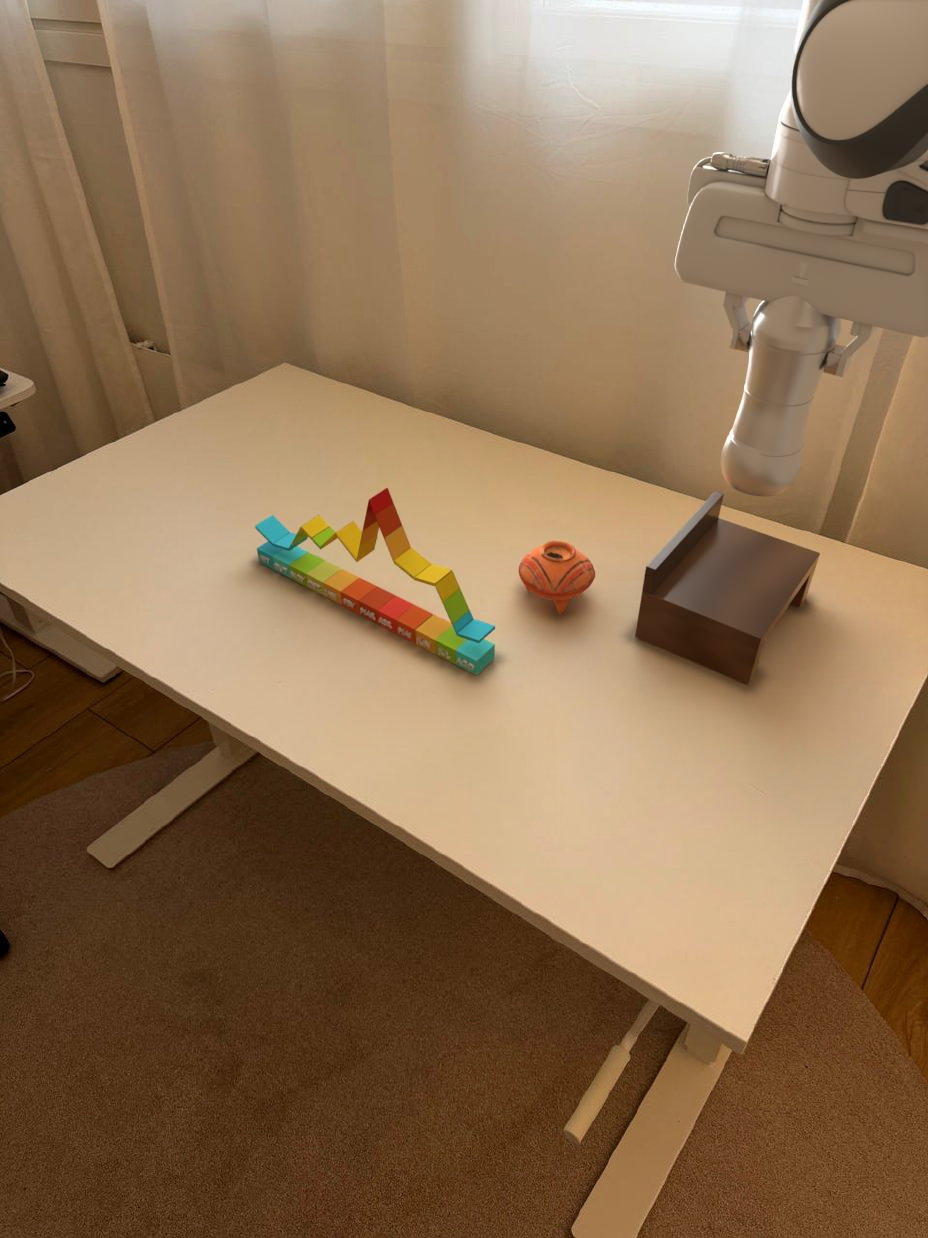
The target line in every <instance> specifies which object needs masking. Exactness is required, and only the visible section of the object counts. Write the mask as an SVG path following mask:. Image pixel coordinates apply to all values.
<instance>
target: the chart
mask: <svg viewBox="0 0 928 1238" xmlns="http://www.w3.org/2000/svg"><path fill="white" fill-rule="evenodd" d="M254 528H255V529H256V531H257V532H258V533H259V534H260V535H262V536H263V538H264V539H265V540H266V542H264V543H262V544H261V545H259V546H258V547H256V552H257V558H258V562H259V563H260V564H262V565H264V566H266V567H268V568H270V569H272V570H274V571H275V572H277V573H280V574H282V575H283V576H285V577H287V578H289V579H291V580H293V581H295V582H296V583H299V584H300V585H302V586H304V587H306V588H308V589H310V590H312V591H314V592H316V593H318V594H319V595H321V596H323V597H326V598H327V599H329V600H331V601H333V602H335V603H337V604H339V605H341V606H342V607H344V608H346V609H349V610H350V611H352V612H354V613H355V614H357V615H359V616H362V617H364V618H365V619H368V621H371V622H373V623H374V624H377V625H378V626H381V627H383V628H384V629H387V630H388V631H390V632H392V633H394V634H396V635H398V636H400V637H402V638H403V639H406V640H408V641H409V642H411V643H413V644H415V645H417V646H419V647H421V648H423V649H424V650H426V651H428V652H431V653H432V654H435V655H436V656H438V657H440V658H441V659H444V660H446V661H448V662H450V663H452V664H453V665H456V666H458V667H460V668H462V669H463V670H466V671H468V672H469V673H472V674H473V675H475V676H478V675H479V674H480V673H481V672H483V670H484V669H485V668H486V667H487V666H488V665H489V664H491V662H493V661H494V660H495V653H496V650H495V649H496V644H495V643H493V642H491V641H488V640H486V639H485V638H487V637H488V636H489V635H490V634H491V633H492V632H493V631H494V630H496V625H495V624H491V623H488V622H485V621H482V620H479V619H476V618H474V616H473V614H472V611H471V610H470V607H469V606H468V603H467V601H466V598H465V596H464V593H463V592H462V589H461V587H460V584H459V582H458V580H457V577H456V575H455V572H454V571H453V569H451V568H448V567H444V566H441V565H437V564H434V563H431V562H430V561H429V560H428V559H426V558H425V557H424V556H423V555H421V553H419V552H418V551H417V550H415V549H414V548H412V546H411V544H410V541H409V538H408V536H407V533H406V531H405V528H404V526H403V524H402V521H401V518H400V516H399V513H398V510H397V508H396V506H395V502H394V501H393V498H392V495H391V493H390V490H389V488H388V487H386V488H384V489H383V490H381V491H379V492H378V493H377V494H375V495H374V496H372V497H370V498H369V499H368V502H367V506H366V510H365V517H364V522H363V525H362V530H361V529H360V527H359V526H358V525H357V524H356V522H355V521H354V520H353V521H351V522H349V523H347V524H346V525H345V526H343V527H342V528H341V529H339V530H337V531H335V530H334V529H333V528H332V527H331V526H330V525H329V523H328V522H326V520H324V518H323V517H321V515H319V514H318V515H317V516H315V517H313V518H312V519H310V520H309V521H307V522H306V523H304V524H302V525H300V527H299V529H298V531H297V532H296V533H294V532H291V531H290V530H288V528H286V527H285V525H283V524H282V523H281V522H280V521H279V519H277V518H276V516H274V514H272V515H270V516H269V517H267V518H265V519H263V520H261V521H260V522H258V523H257V524H255V525H254ZM379 530H380V532H381V535H382V537H383V540H384V542H385V545H386V547H387V550H388V552H389V554H390V555H389V556H390V557H391V560H392V562H393V564H394V566H396V567H397V568H398V569H400V570H401V571H403V572H404V573H405V574H406V575H407V576H409V577H410V578H411V579H412V580H414V581H415V582H418V583H422V584H426V585H428V586H431V587H435V590H436V592H437V594H438V596H439V599H440V601H441V604H442V605H443V607H444V611H445V612H446V614H447V617H448V619H449V620H446V619H444V618H443V617H440V616H438V615H436V614H433V613H432V612H430V611H429V610H426V609H424V608H422V607H420V606H419V605H416V604H414V603H412V602H410V601H409V600H406V599H404V598H402V597H400V596H398V595H396V594H394V593H392V592H390V591H387V590H386V589H383V588H382V587H380V586H377V585H376V584H374V583H372V582H370V581H368V580H367V579H364V578H362V577H360V576H357V575H355V574H353V573H351V572H349V571H348V570H345V569H344V568H341V567H339V566H337V565H335V564H333V563H332V562H329V561H327V560H326V559H324V558H322V557H319V556H317V555H315V554H313V553H311V552H310V551H307V550H305V549H303V548H301V547H299V545H301V544H302V543H304V542H306V541H307V540H308V538H309V539H310V540H311V541H312V542H313V543H314V544H315V546H316V547H317V548H318V549H319V550H322V549H324V548H325V547H327V546H328V545H330V544H331V543H332V542H334V541H336V540H339V541H340V543H341V545H342V546H343V547H344V548H345V549H346V551H347V552H348V553H349V554H350V557H352V558H353V560H354V561H355V562H356V563H359V562H360V561H361V560H363V559H364V558H365V557H367V556H368V555H369V554H371V553H372V552H373V551H375V548H376V544H377V540H378V536H379Z"/></svg>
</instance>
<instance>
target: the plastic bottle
mask: <svg viewBox="0 0 928 1238" xmlns="http://www.w3.org/2000/svg"><path fill="white" fill-rule="evenodd" d="M807 265H808V263H807V262H802V261H800V278H798V277H792V281H791V282H792V283H795V284H799V285H805V286H808V282H809V280H807V279H802V277H803V274H804V272H805V270H806V267H807ZM751 324H752V327H751V338H750V349H749V351H748V365H747V369H746V374H745V375H746V376H745V383H744V386H743V387H744V388H743V392H742V397H741V400H740V404H739V406H738V409H737V412H736V416H735V418H734V422H733V425H732V427H731V429H730V431H729V433H728V435H727V437H726V439H725V441H724V444H723V447H722V450H721V453H720V472H721V474H722V476H723V478H724V481H725V482H726V483H727V485H728V486H729V487H731V488H732V489H733V490H735V491H738V492H740V493H742V494H746V495H748V496H749V495H750V496H753V497H762V498H763V497H764V498H765V497H774V496H777V495H781V494H783V493H785V491H787V490H788V489H790V488H791V487H792V486H793V485H794V483H795V482H796V479H797V478H798V476H799V474H800V472H801V470H802V468H803V467H802V466H803V459H804V447H805V443H804V441H805V437H806V431H807V427H808V426H807V425H808V421H809V415H810V410H811V406H812V403H813V400H814V397H815V394H816V392H817V390H818V386H819V383H820V381H821V378H822V374H823V373H824V372H823V370H824V366H825V365H826V364H827V362H826V359H827V356H828V352H829V351H831V350H832V349H833V348H834V346H835V345H836V344H837V342H838V339H839V337H840V334H841V332H842V319H841V318H836V317H832V316H828V315H823V314H820V313H819V312H817V311H816V310H815V309H814V308H813V307H812V306H811V305H810V304H809V303H807V302H806V301H805V300H803V299H802V298H800V297H797V296H788V297H783V298H779V299H777V300H774V301H771V302H767V301H763V300H761V302H760V303H759V304H758V306H757V308H756V310H755V312H754V314H753V316H752V322H751Z"/></svg>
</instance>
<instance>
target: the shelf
mask: <svg viewBox="0 0 928 1238" xmlns="http://www.w3.org/2000/svg"><path fill="white" fill-rule="evenodd" d="M724 495H725V494H724V493H721V492H719V491H714V492H713V493H712V494H711V495H710V496H709V497H708V498H707V499H706V500H705V501H704V502H703V504H702V505H701V506H700V507H699V508H698V509H697V510H696V511H695V512H694V513H693V515H692V516H691V517H690V518H689V519H688V520H687V521H686V522H685V523H684V524H683V525H682V526H681V528H680V529H679V530H678V531H677V532H676V533H675V534H674V535H673V537H672V538H671V539H669V541H667V543H666V544H665V545H664V546H663V547H662V548H661V550H659V552H657V554H656V555H655V556H654V557H653V558H652V560H650V562H649V563H648V564H647V565H646V566H645V570H644V577H643V584H642V590H641V597H640V602H639V603H640V604H639V608H638V609H639V610H638V616H637V622H636V627H635V634H634V638H636V639H639V640H641V641H643V642H646V643H648V644H651V645H653V646H655V647H657V648H660V649H663V650H664V651H666V652H669V653H671V654H674V655H676V656H678V657H681V658H684V659H685V660H688V661H690V662H693V663H695V664H696V665H700V666H701V667H704V668H706V669H709V670H711V671H712V672H716V673H719V674H721V675H723V676H726V677H728V678H729V679H732V680H734V681H736V682H739V683H741V684H744V685H746V686H749V685H750V683H751V681H753V678H754V677H755V676H756V673H757V671H758V668H759V664H760V660H761V658H762V654H763V650H764V646H765V643H766V640H767V638H768V637H769V635H770V634H771V632H772V630H773V629H774V628H775V626H776V625H777V623H778V622H779V620H780V619H781V618H782V616H783V614H784V613H785V612H786V610H787V609H788V607H789V606H794V607H796V608H798V609H800V608H801V606H802V605H803V604H804V602H805V601H806V599H807V596H808V594H809V590H810V587H811V583H812V580H813V577H814V574H815V571H816V568H817V565H818V562H819V558H820V556H821V552H818V551H816V550H814V549H813V550H812V549H809V548H808V547H807V548H806V547H804V546H801V545H799V544H796V543H792V542H791V541H787V540H783V539H781V538H778V537H775V536H772V535H770V534H767V533H763V532H760V531H757V530H755V529H752V528H749V527H746V526H744V525H740V524H738V523H734V522H731V521H728V520H726V519H723V518H720V514H721V509H722V505H723V500H724Z"/></svg>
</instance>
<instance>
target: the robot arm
mask: <svg viewBox="0 0 928 1238" xmlns="http://www.w3.org/2000/svg"><path fill="white" fill-rule="evenodd" d="M792 61H793V62H792V66H791V71H790V72H791V73H790V85H789V86H790V87H789V89H790V91H789V93H788V95H787V97H786V99H785V101H784V104H783V105H782V108H781V110H780V113H779V117H778V121H777V122H778V123H777V128H776V133H775V137H774V141H773V142H774V143H773V146H772V151H771V157H770V159H769V158H761V157H754V156H737V155H733V153H729V152H722V151H721V152H714V153H713V154H712V156H708V157H705V158H702V159H701V160H699V161H698V162H697V163H696V164H695V166H694V167H693V169H692V171H691V173H690V176H689V181H688V187H687V188H688V189H687V195H686V196H687V197H686V200H687V205H688V207H689V209H688V211H687V214H686V217H685V220H684V223H683V227H682V230H681V233H680V237H679V241H678V245H677V249H676V255H675V260H674V269H675V271H676V273H677V276H678V278H679V280H680V282H683V283H685V284H690V285H695V286H698V287H702V288H707V289H712V290H716V291H719V292H724V293H725V294H724V300H723V303H722V306H723V307H724V311H725V314H726V317H727V319H728V322H729V325H730V328H731V329H732V331H731V335H730V342H729V349H732V350H735V351H740V352H745V353H749V351H750V338H751V327H752V322H750V320H749V317H748V312H747V309H746V306H745V304H746V303H747V302H749V300H751V299H755V300H760V301H767V302H771V301H774V300H777V299H779V298H783V297H788V296H797V297H800V298H802V299H803V300H805V301H806V302H807V303H809V304H810V305H811V306H812V307H813V308H814V309H815V310H816V311H817V312H819V313H820V314H823V315H828V316H832V317H836V318H841V320H845V321H850V322H852V325H851V329H850V332H849V334H850V335H851V336H852V337H853V336H854V338H853V339H852V340H851V341H850V342H849V343H848V344H847V345H846V346H845V345H842V344H837V343H836V344H835V346H834V348H833V349H832V350H831V351H829V352H828V356H827V359H826V362H827V364H826V365H825V366H824V370H823V372H822V373H824V374H828V375H832V376H835V377H840V378H843V377H844V376H845V375H846V373H847V372H848V371H849V369H850V366H851V363H852V359H853V356H854V354H855V353H856V352H857V351H858V350H859V349H860V348H861V347H862V346H863V345H864V344H866V342H868V341H869V340H870V339H871V337H872V336H873V335H874V334H875V333H876V331H877V330H878V328H880V329H884V330H888V331H894V332H897V333H901V334H905V335H910V336H913V337H914V336H916V337H917V338H927V337H928V0H803V3H802V7H801V12H800V17H799V22H798V25H797V31H796V35H795V41H794V57H793V60H792ZM707 164H710V166H708V165H707ZM800 261H802V262H807V263H808V265H807V267H806V270H805V272H804V274H803V277H802V279H807V280H809V282H808V286H805V285H799V284H795V283H792V282H791V281H792V277H798V278H800Z"/></svg>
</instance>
